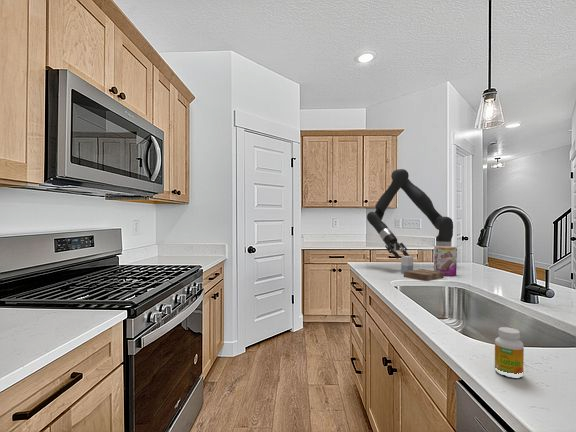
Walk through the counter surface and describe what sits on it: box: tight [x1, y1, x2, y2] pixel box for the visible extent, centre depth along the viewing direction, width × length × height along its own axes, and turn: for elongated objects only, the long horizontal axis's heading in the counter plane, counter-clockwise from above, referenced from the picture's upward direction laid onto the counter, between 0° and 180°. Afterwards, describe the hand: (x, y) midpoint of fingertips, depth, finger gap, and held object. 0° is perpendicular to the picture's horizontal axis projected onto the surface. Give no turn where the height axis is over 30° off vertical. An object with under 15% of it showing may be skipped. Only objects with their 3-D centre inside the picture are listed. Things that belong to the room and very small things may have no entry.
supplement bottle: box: [494, 326, 525, 374], centre depth 77 cm, size 5×5×10 cm
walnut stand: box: [403, 268, 445, 282], centre depth 192 cm, size 16×14×3 cm
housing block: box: [400, 255, 414, 275], centre depth 204 cm, size 5×4×10 cm
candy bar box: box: [433, 245, 458, 277], centre depth 198 cm, size 11×5×16 cm, turn 84°
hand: (403, 257), depth 207 cm, fingers open, 8 cm apart
